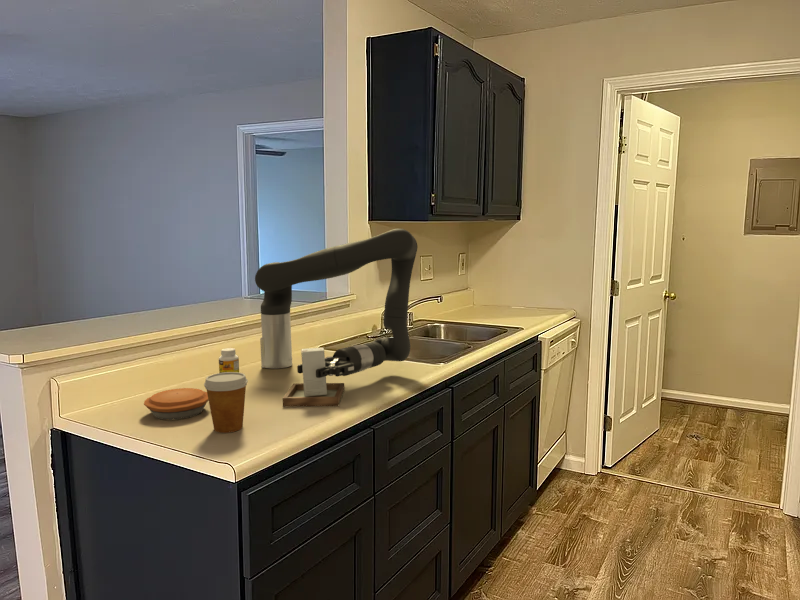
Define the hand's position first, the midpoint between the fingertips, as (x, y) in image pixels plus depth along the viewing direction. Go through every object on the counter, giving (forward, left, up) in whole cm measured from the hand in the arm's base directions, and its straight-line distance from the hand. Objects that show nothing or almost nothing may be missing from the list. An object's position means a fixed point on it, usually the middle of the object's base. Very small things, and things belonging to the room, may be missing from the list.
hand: (307, 371), depth 160 cm
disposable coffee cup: (-15, -21, -8) cm, 27 cm away
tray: (+1, +2, -8) cm, 8 cm away
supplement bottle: (-26, +17, -8) cm, 32 cm away
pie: (-31, -9, -8) cm, 33 cm away
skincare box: (+1, +2, -7) cm, 7 cm away
